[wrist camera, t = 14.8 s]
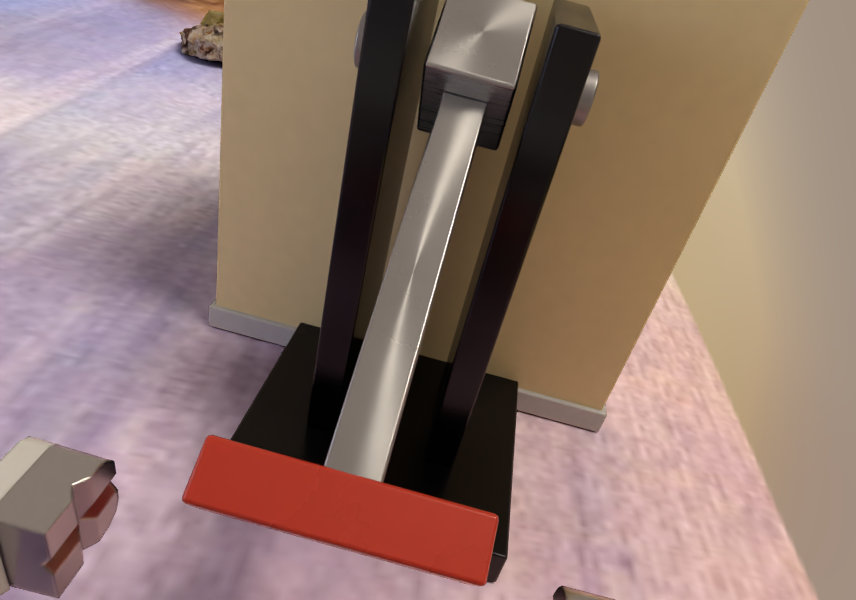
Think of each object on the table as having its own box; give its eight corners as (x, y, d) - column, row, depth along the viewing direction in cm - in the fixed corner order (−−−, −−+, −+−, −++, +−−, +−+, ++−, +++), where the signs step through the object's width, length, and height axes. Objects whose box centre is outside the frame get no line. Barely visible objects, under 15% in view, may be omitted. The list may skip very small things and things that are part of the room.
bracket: (495, 583, 19) (729, 93, 11) (207, 502, 19) (219, -41, 11) (512, 374, 27) (649, 10, 19) (312, 319, 27) (363, -64, 19)
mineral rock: (273, 51, 51) (175, 1, 49) (255, 99, 53) (160, 54, 51) (289, 27, 60) (207, -15, 58) (273, 69, 62) (193, 30, 60)
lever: (470, 585, 12) (492, 589, 10) (203, 510, 12) (168, 497, 10) (572, 88, 17) (602, 19, 15) (386, 39, 18) (388, -37, 15)
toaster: (598, 433, 25) (842, -40, 16) (207, 326, 25) (217, -199, 16) (584, 288, 35) (731, -60, 25) (300, 211, 35) (340, -160, 26)
